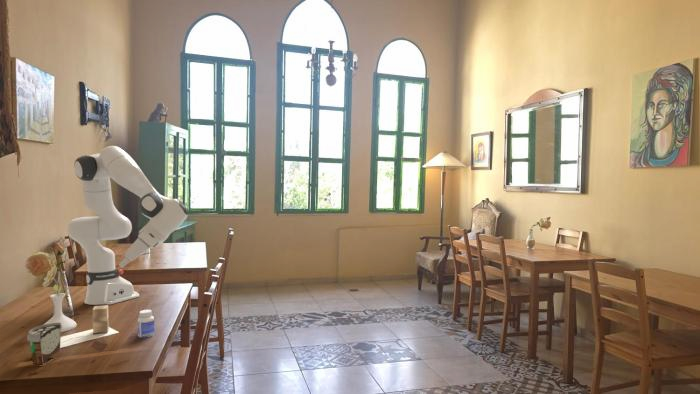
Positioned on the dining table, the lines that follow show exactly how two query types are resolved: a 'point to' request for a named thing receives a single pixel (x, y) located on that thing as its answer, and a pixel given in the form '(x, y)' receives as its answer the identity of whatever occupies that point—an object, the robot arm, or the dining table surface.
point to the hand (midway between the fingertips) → (123, 264)
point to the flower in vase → (58, 304)
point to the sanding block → (100, 319)
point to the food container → (44, 342)
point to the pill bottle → (146, 324)
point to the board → (83, 337)
